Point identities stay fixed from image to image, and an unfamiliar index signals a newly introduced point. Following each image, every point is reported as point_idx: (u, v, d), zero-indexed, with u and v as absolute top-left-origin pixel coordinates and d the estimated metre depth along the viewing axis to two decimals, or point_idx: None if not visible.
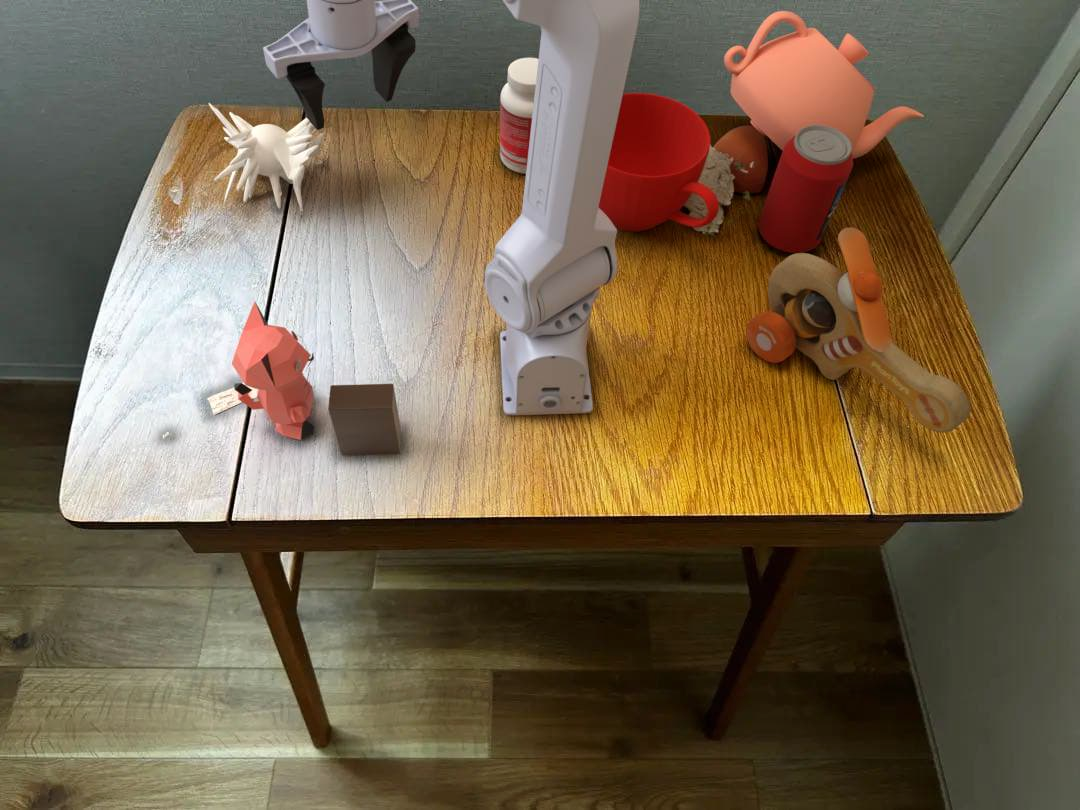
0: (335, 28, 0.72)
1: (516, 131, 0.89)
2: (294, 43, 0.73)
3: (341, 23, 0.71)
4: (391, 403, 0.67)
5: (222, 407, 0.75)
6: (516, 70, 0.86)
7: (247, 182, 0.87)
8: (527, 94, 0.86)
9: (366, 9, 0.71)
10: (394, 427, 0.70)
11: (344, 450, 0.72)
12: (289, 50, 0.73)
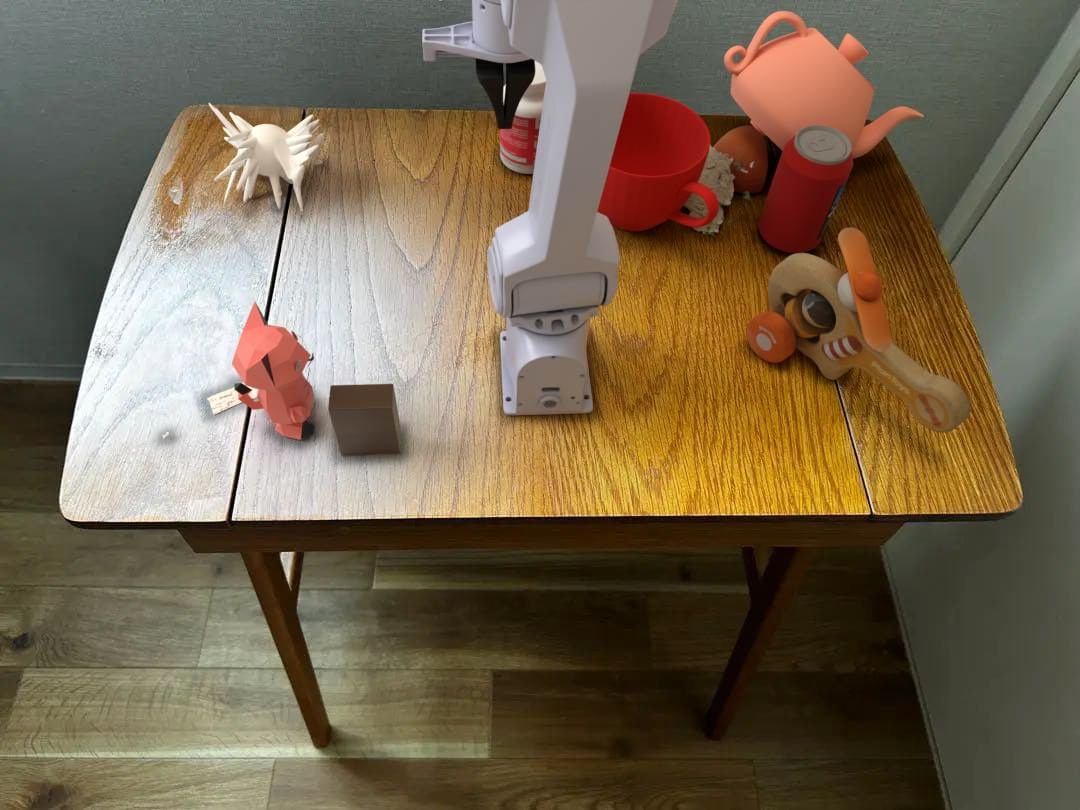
0: (484, 27, 0.72)
1: (516, 131, 0.89)
2: (451, 34, 0.75)
3: (489, 23, 0.71)
4: (391, 403, 0.67)
5: (222, 407, 0.75)
6: None
7: (247, 182, 0.87)
8: (527, 94, 0.86)
9: None
10: (394, 427, 0.70)
11: (344, 450, 0.72)
12: (443, 38, 0.75)
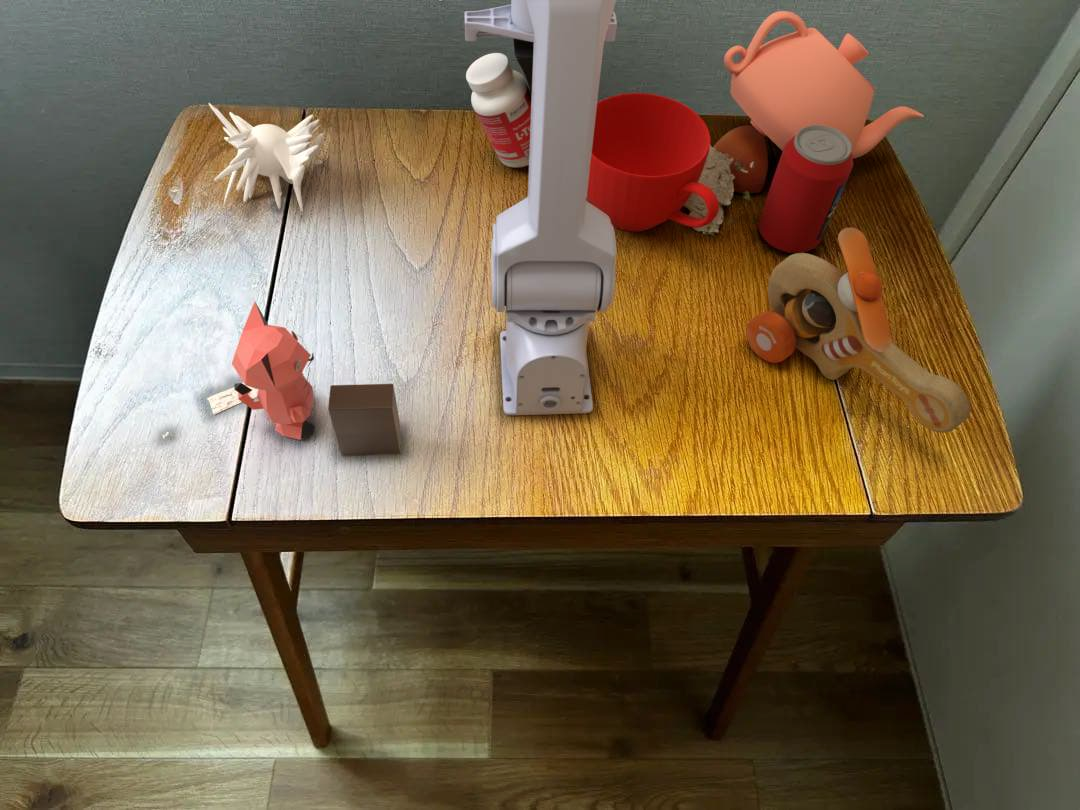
0: (522, 9, 0.78)
1: (494, 130, 0.89)
2: (491, 16, 0.81)
3: None
4: (391, 403, 0.67)
5: (222, 407, 0.75)
6: (473, 72, 0.86)
7: (247, 182, 0.87)
8: (488, 92, 0.86)
9: None
10: (394, 427, 0.70)
11: (344, 450, 0.72)
12: (484, 20, 0.81)
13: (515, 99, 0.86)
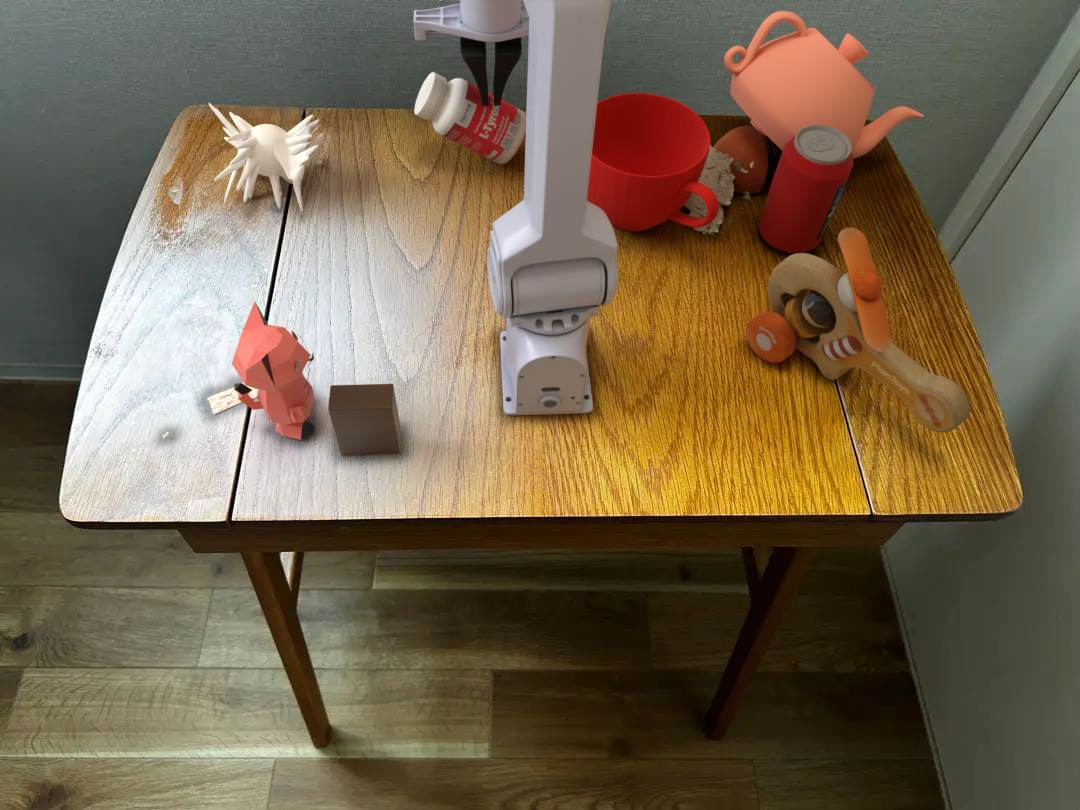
0: (470, 8, 0.78)
1: (462, 141, 0.90)
2: (440, 15, 0.80)
3: (475, 4, 0.77)
4: (391, 403, 0.67)
5: (222, 407, 0.75)
6: (417, 103, 0.89)
7: (247, 182, 0.87)
8: (432, 114, 0.88)
9: None
10: (394, 427, 0.70)
11: (344, 450, 0.72)
12: (433, 19, 0.80)
13: (457, 106, 0.87)
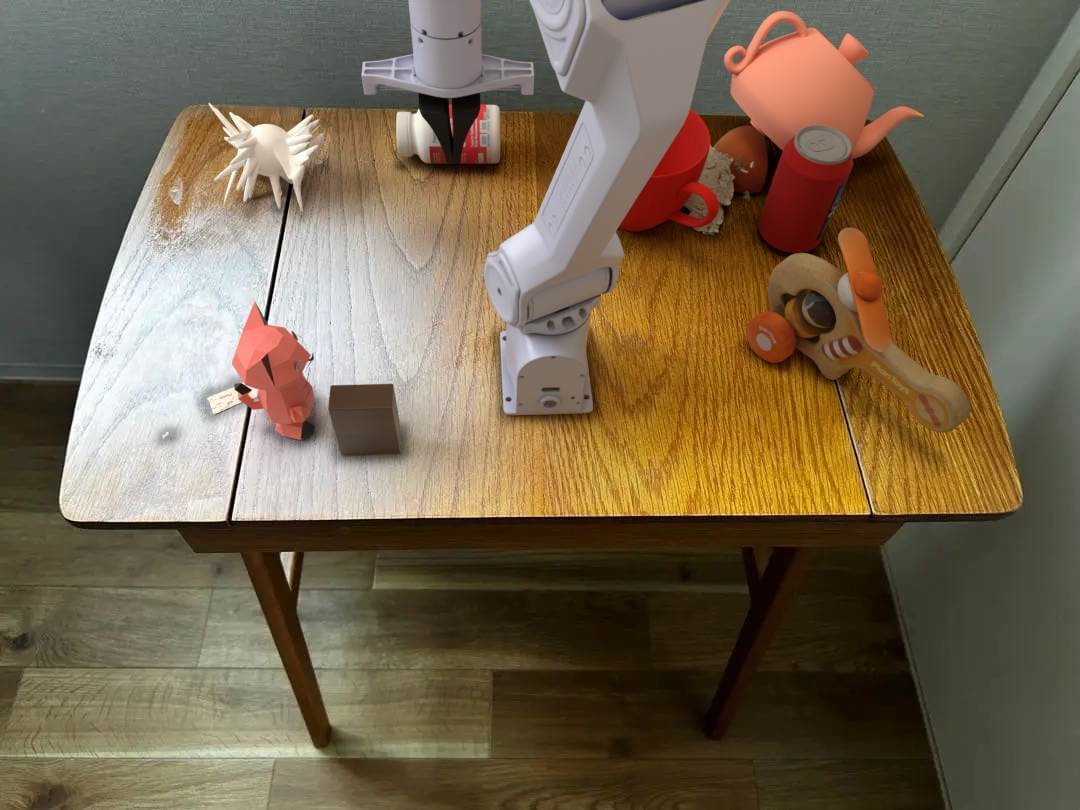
0: (423, 61, 0.69)
1: None
2: (392, 67, 0.72)
3: (428, 57, 0.68)
4: (391, 403, 0.67)
5: (222, 407, 0.75)
6: None
7: (247, 182, 0.87)
8: (409, 149, 0.91)
9: (456, 51, 0.68)
10: (394, 427, 0.70)
11: (344, 450, 0.72)
12: (384, 71, 0.72)
13: (423, 131, 0.90)
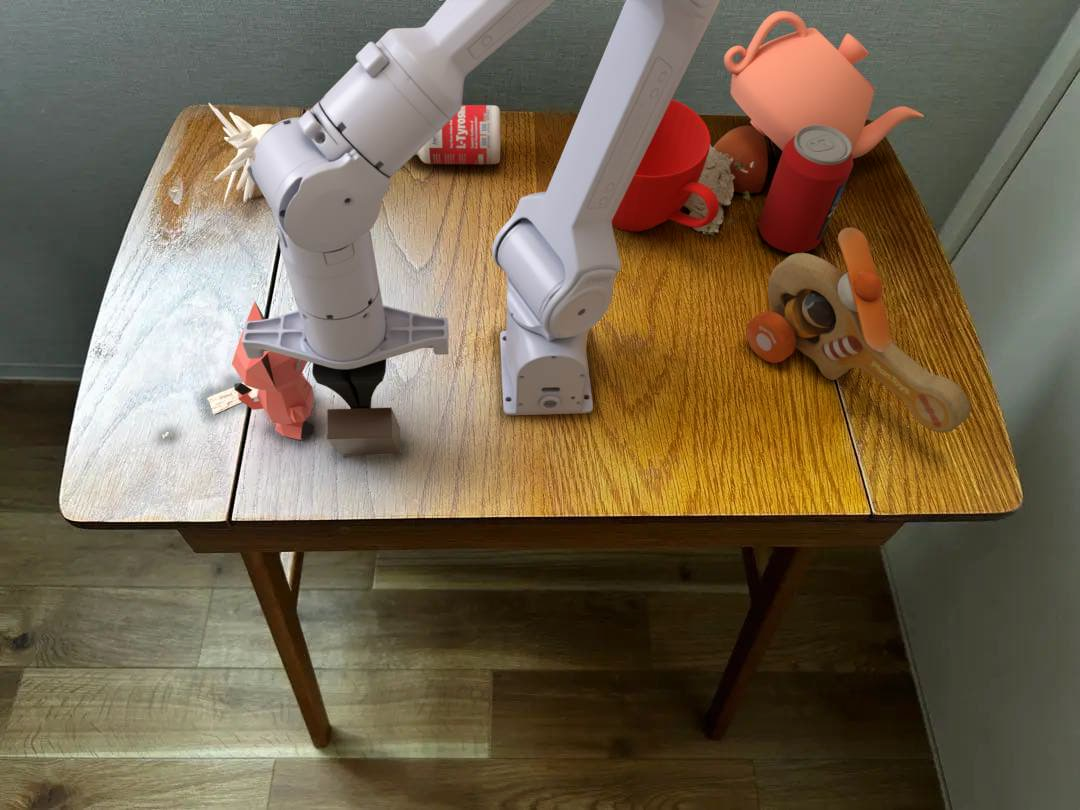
0: (311, 335, 0.58)
1: (448, 161, 0.92)
2: (279, 329, 0.61)
3: (316, 333, 0.57)
4: (390, 431, 0.66)
5: (222, 407, 0.75)
6: None
7: (247, 182, 0.87)
8: None
9: (348, 328, 0.57)
10: (394, 444, 0.69)
11: (344, 453, 0.72)
12: (270, 334, 0.61)
13: None
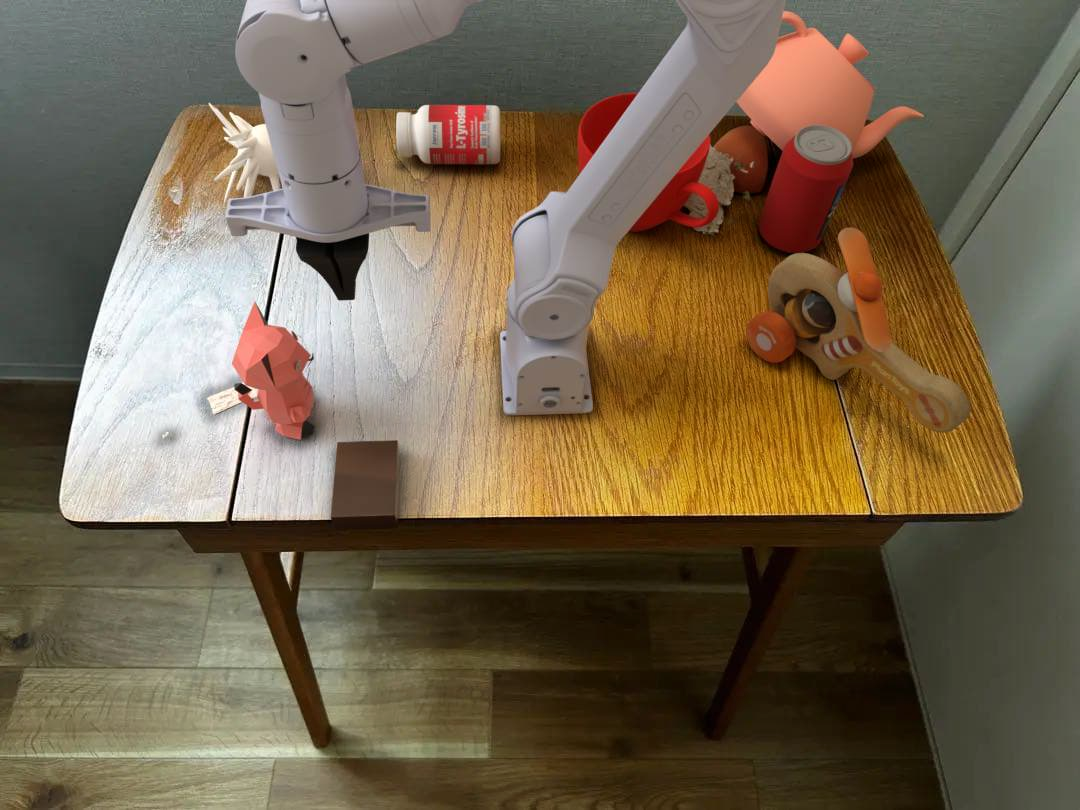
0: (294, 204, 0.59)
1: (448, 161, 0.92)
2: (262, 205, 0.62)
3: (298, 201, 0.58)
4: (396, 526, 0.69)
5: (222, 407, 0.75)
6: None
7: (247, 182, 0.87)
8: (409, 150, 0.91)
9: (330, 195, 0.58)
10: (397, 497, 0.71)
11: None
12: (253, 211, 0.62)
13: (423, 132, 0.90)
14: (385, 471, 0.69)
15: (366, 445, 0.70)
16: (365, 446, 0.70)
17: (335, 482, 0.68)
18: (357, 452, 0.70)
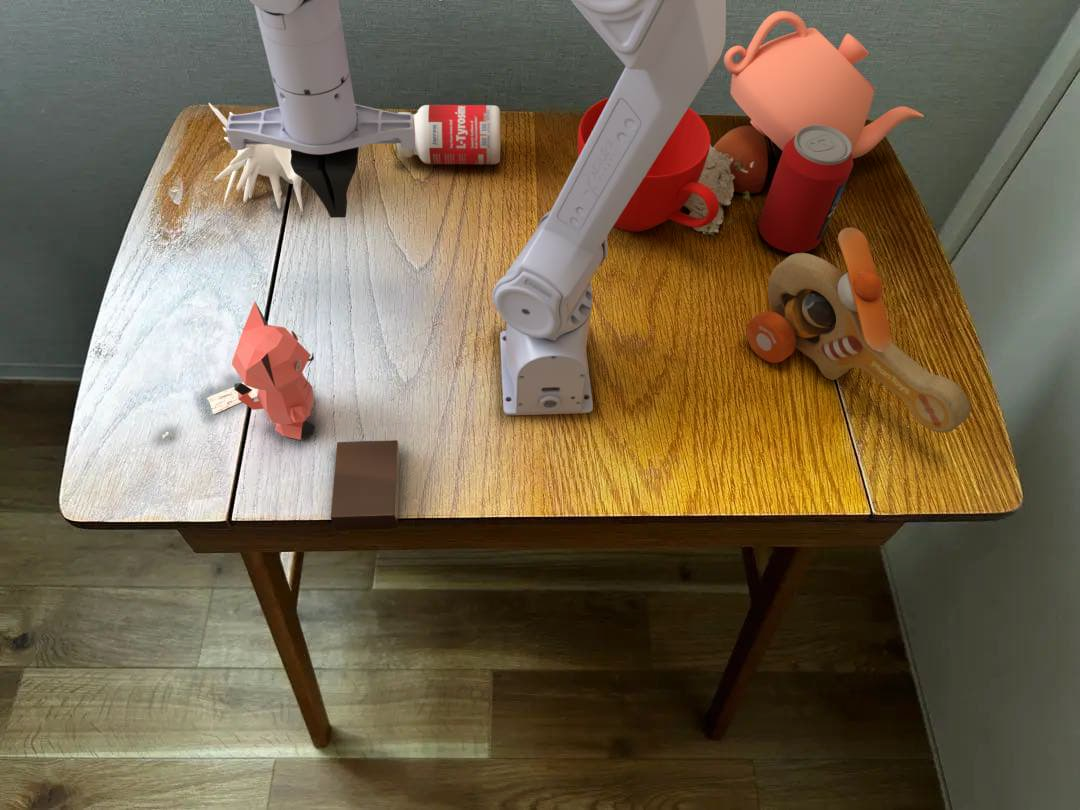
0: (288, 117, 0.64)
1: (448, 161, 0.92)
2: (260, 121, 0.67)
3: (292, 113, 0.64)
4: (396, 526, 0.69)
5: (222, 407, 0.75)
6: None
7: (247, 182, 0.87)
8: (409, 150, 0.91)
9: (321, 107, 0.63)
10: (397, 497, 0.71)
11: None
12: (251, 125, 0.67)
13: (423, 132, 0.90)
14: (385, 471, 0.69)
15: (366, 445, 0.70)
16: (365, 446, 0.70)
17: (335, 482, 0.68)
18: (357, 452, 0.70)
